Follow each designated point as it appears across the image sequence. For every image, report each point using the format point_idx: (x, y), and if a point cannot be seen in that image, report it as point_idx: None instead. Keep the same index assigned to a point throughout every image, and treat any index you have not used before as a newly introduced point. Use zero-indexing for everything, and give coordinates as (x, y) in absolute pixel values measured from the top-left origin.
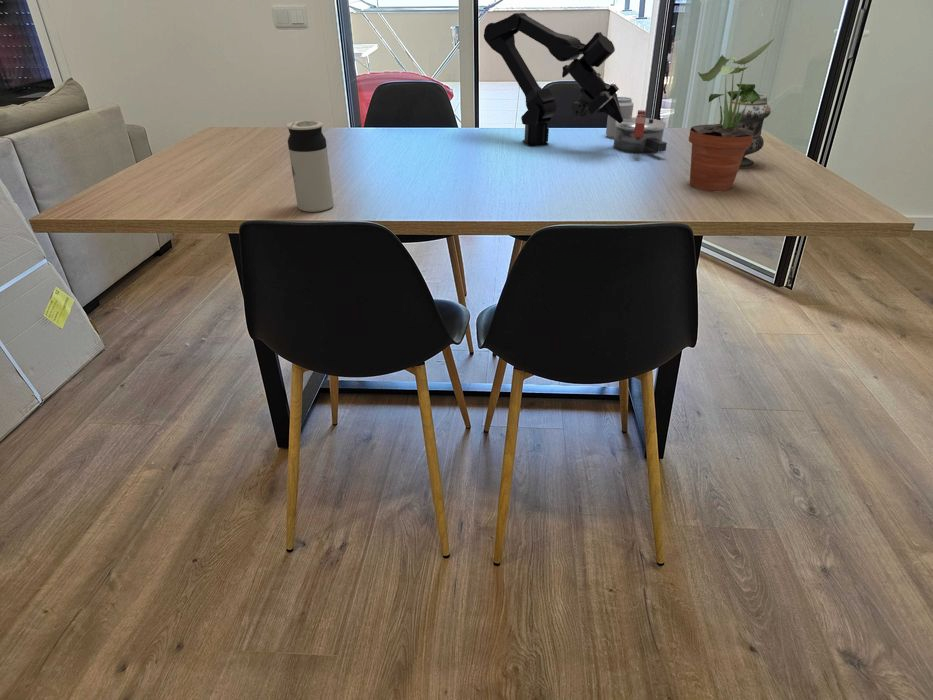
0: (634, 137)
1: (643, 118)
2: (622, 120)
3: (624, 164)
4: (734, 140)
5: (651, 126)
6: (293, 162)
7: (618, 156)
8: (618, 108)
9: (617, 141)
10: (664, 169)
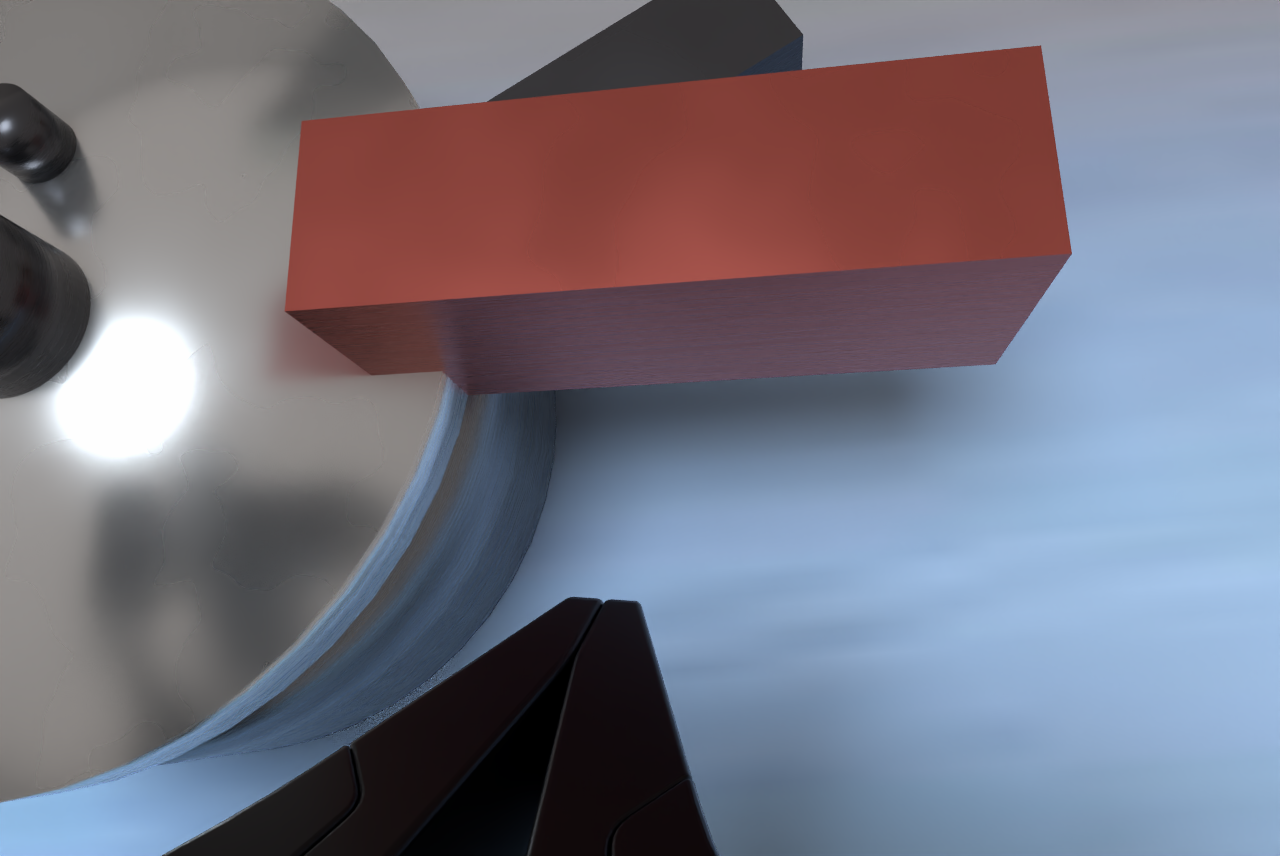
0: (492, 410)
1: (431, 148)
2: (639, 613)
3: (1201, 511)
4: None
5: (350, 104)
6: None
7: (774, 631)
8: (682, 798)
9: (364, 692)
10: (1232, 38)
